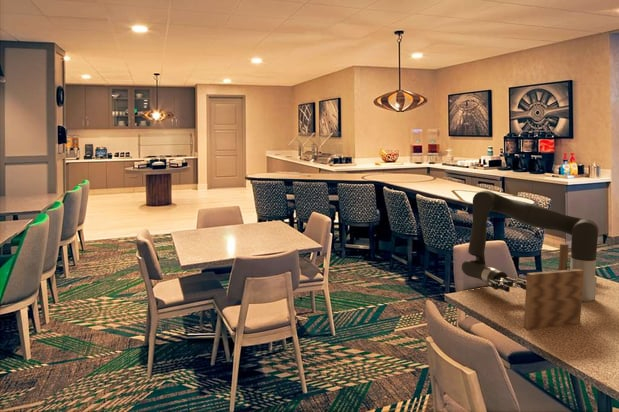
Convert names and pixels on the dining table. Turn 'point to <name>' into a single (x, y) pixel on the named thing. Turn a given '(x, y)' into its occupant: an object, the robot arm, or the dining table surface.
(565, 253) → the wooden block
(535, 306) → the zigzag wooden panel
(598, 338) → the dining table surface
